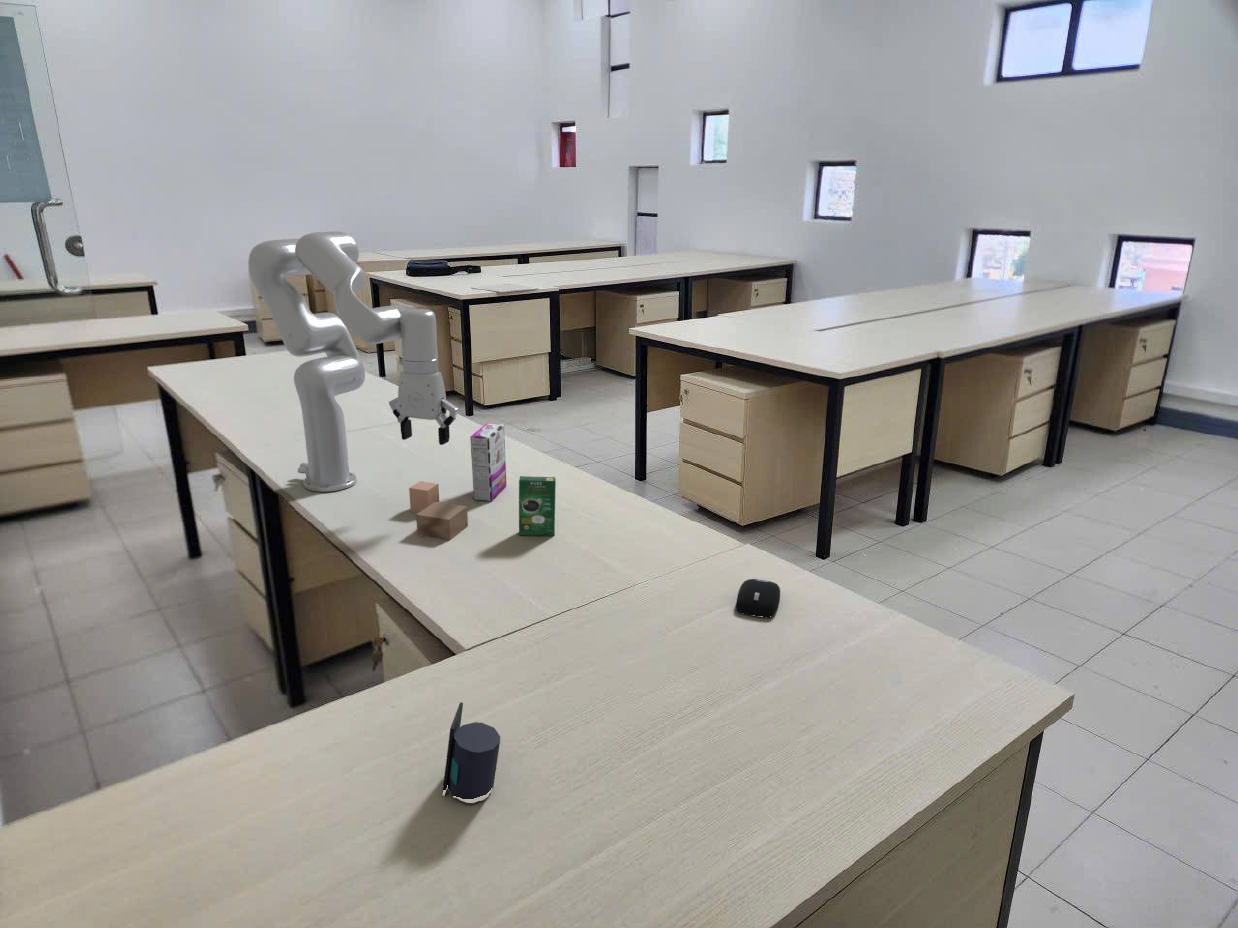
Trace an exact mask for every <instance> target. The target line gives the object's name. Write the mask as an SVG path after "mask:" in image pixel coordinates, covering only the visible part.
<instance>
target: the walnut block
mask: <svg viewBox="0 0 1238 928" xmlns="http://www.w3.org/2000/svg"><path fill="white" fill-rule="evenodd" d="M415 514H416V515H415V518H416V519H415V520H416V530H417V531H416V532H417V536H420V537H427V538H434V539H440V540H446V541H451V540H453V539H454V538H455V537H457V536H458V535H460V533H462V532H463V531H464V530H465V529H466V528H468V527H469V516H468V506H467V505H459V504H455V503H454V504H452V503H447V502H440V501H439V502H434V503H432V504H431V505H429V506H428V507H426V508H425V509H424V510H422V511H421V512H419V513H415ZM461 531H462V532H461Z"/></svg>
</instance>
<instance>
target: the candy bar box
mask: <svg viewBox="0 0 1238 928" xmlns="http://www.w3.org/2000/svg"><path fill="white" fill-rule="evenodd" d="M470 453H471V455H470V457H471V469H472V470H471V472H472V473H471V474H472V489H473V500H474V501H480V502H481V501H482V502H493V501H494V500H495V499H496V498H497V497H498V496H499V494H501V492H502V491H503V490H504V489H505V488H506V487H507V470H506V469H507V467H506V442H505V424H503V423H502V424H500V423H492V422H491V423H489V422H488V423H485V424H484V425H483V426H481V427H480V428H479V429H477V430H476V431H475V432H474V433H473V434H471V435H470Z"/></svg>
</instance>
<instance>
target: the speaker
mask: <svg viewBox="0 0 1238 928" xmlns="http://www.w3.org/2000/svg"><path fill="white" fill-rule="evenodd" d="M463 706H464V702H459V704H458V707H457V709H456V712H455V715H454V717H453V721H452V722H451V726H450V728H449V735H448V743H447V744H448V745H447V752H446V758H445V759H446V760H445V768H444V777H443V784H442V791H443V790H446V788H447V785H448V789H449V790H448V789H447V790H448V792H449V791H450V792H451V793H450V792H449V793H450V795H451V794H452V795H451V797H452V796H456V797H460V798H462V799H474V798H477V797H480V796H483V795H486V794H487V793H488V792H489V791H490V790H491V788H492V787H493V788H494V785H495V778H496V777H495V776H496V772H497V764H498V759H499V752H500V744H501V735H500V733H499V732H498V730H496V728H495V727H494V726H491V725H489V724H486V723H484V722H478V721H477V722H476V721H474V722H469V723H466V724H461V722H462V715H463Z"/></svg>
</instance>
